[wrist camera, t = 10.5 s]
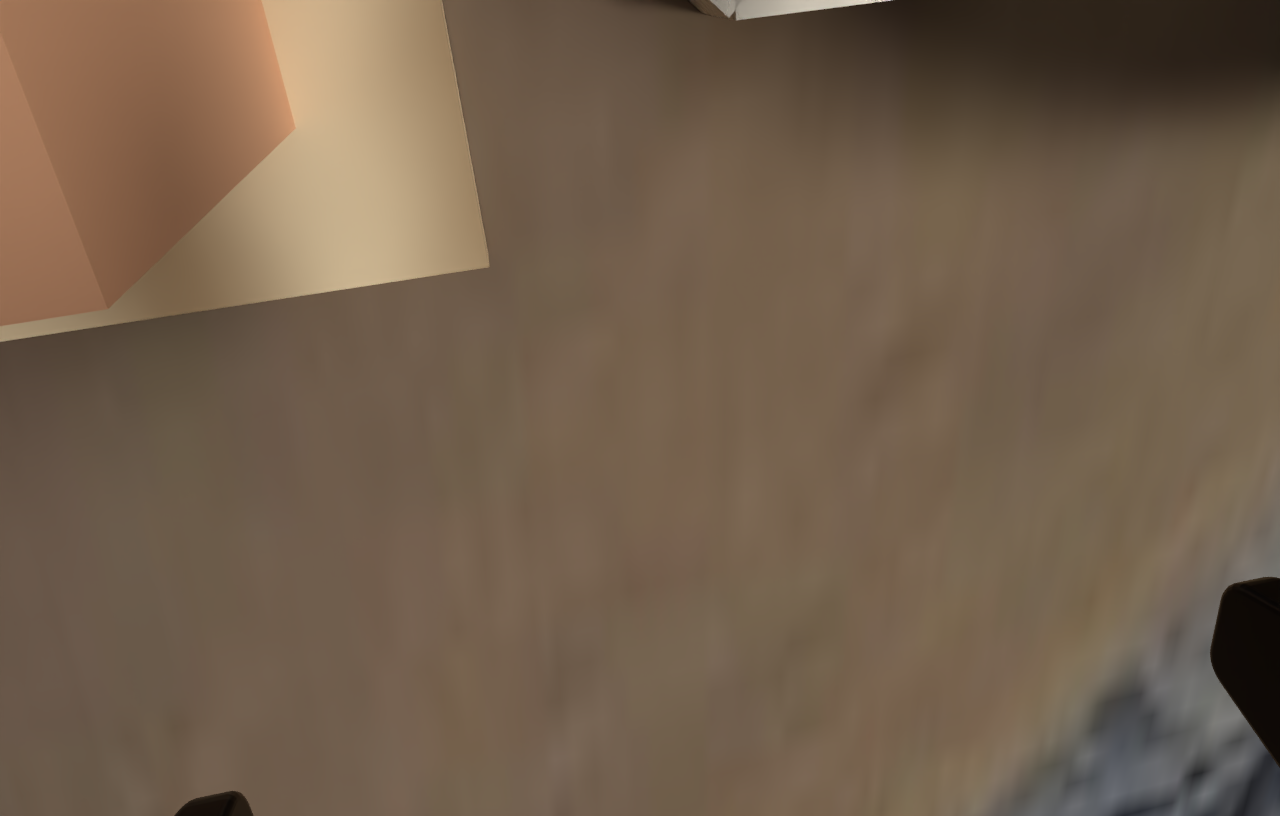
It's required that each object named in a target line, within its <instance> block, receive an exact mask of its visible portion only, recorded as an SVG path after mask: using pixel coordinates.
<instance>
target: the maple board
mask: <svg viewBox="0 0 1280 816" xmlns="http://www.w3.org/2000/svg"><path fill="white" fill-rule="evenodd" d="M261 1H262V4H263V8H264V12H265V15H266V19H267V23H268V27H269V30H270V34H271V38H272V41H273V45H274V49H275V53H276V56H277V60H278V64H279V68H280V71H281V75H282V79H283V82H284V86H285V90H286V94H287V97H288V101H289V105H290V109H291V112H292V116H293V120H294V123H295V127H296V129H295V130H294V131H293V132H291V133H290V134H289V135H288V136H287V137H286V138H285V139H284V140H283V141H282V142H281V143H280V144H279V145H278V146H277V147H276V148H275V149H274V150H273V151H272V152H271V153H270V154H269V155H268V156H267V157H266V158H264V159H263V160H262V161H261V162H260V163H259V164H258V165H257V166H256V167H255V168H254V169H253V170H252V171H251V172H250V173H249V174H248V175H247V176H246V177H245V178H244V179H243V180H242V181H241V182H240V183H239V184H237V185H236V186H235V187H234V188H233V189H232V190H231V191H230V192H229V193H228V194H227V195H226V196H225V197H224V198H223V199H222V200H221V201H220V202H219V203H218V204H217V205H216V206H215V207H214V208H213V209H212V210H211V211H209V212H208V213H207V214H206V215H205V216H204V217H203V218H202V219H201V220H200V221H199V222H198V223H197V224H196V225H195V226H194V227H193V228H192V229H191V230H190V231H189V232H188V233H187V234H186V235H185V236H184V237H182V238H181V239H180V240H179V241H178V242H177V243H176V244H175V245H174V246H173V247H172V248H171V249H170V250H169V251H168V252H167V253H166V254H165V255H164V256H163V257H162V258H161V259H160V260H159V261H158V262H157V263H155V264H154V265H153V266H152V267H151V268H150V269H149V270H148V271H147V272H146V273H145V274H144V275H143V276H142V277H141V278H140V279H139V280H138V281H137V282H136V283H135V284H134V285H133V286H132V287H131V288H130V289H128V290H127V291H126V292H125V293H124V294H123V295H122V296H121V297H120V298H119V299H118V300H117V301H116V302H115V303H114V304H113V305H112V306H111V307H110V308H109V309H106V310H100V311H93V312H87V313H81V314H75V315H68V316H62V317H56V318H49V319H43V320H37V321H30V322H24V323H18V324H11V325H5V326H0V342H2V341H9V340H15V339H22V338H28V337H35V336H41V335H48V334H54V333H61V332H67V331H74V330H81V329H87V328H94V327H100V326H107V325H113V324H120V323H126V322H133V321H139V320H146V319H152V318H159V317H166V316H172V315H179V314H185V313H192V312H198V311H205V310H211V309H218V308H224V307H231V306H238V305H244V304H251V303H257V302H264V301H270V300H277V299H283V298H290V297H296V296H303V295H309V294H316V293H323V292H329V291H336V290H342V289H349V288H355V287H362V286H368V285H375V284H381V283H388V282H395V281H401V280H408V279H414V278H421V277H427V276H434V275H440V274H447V273H453V272H460V271H466V270H473V269H480V268H486V267H489V258H488V250H487V245H486V239H485V234H484V228H483V223H482V217H481V212H480V206H479V201H478V195H477V190H476V185H475V179H474V174H473V168H472V163H471V157H470V152H469V146H468V141H467V135H466V130H465V124H464V119H463V113H462V108H461V102H460V97H459V92H458V86H457V81H456V75H455V70H454V64H453V59H452V53H451V48H450V42H449V37H448V31H447V26H446V20H445V15H444V9H443V4H442V0H261Z"/></svg>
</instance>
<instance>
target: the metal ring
mask: <svg viewBox="0 0 1280 816" xmlns="http://www.w3.org/2000/svg"><path fill="white" fill-rule="evenodd" d="M689 1H690V2H691V3H692V4H693V5H694V6H695V7H696V8H697V9H698V10H700V11H701V12H702V13H704V14H709V15H710V16H715V17H721V18H726V19H732V20H742V19H750V18H758V17H766V16H773V15H781V14H789V13H797V12H805V11H813V10H820V9H828V8H836V7H844V6H852V5H860V4H868V3H875V2H883V1H891V0H689Z"/></svg>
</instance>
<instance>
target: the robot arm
mask: <svg viewBox="0 0 1280 816" xmlns="http://www.w3.org/2000/svg"><path fill="white" fill-rule="evenodd" d="M1210 657H1211V663H1212V666H1213V669H1214V671H1215V674H1216V676H1217V678H1218V679H1219V681H1220V682H1221V684H1222V685H1223V687H1224V688H1225V690H1226V691H1227V693H1228V694H1229V695H1230V697H1231V698H1232V700H1233V701H1234V703H1235V704H1236V706H1237V707H1238V708H1239V710H1240V711H1241V713H1242V714H1243V716H1244V717H1245V718H1246V720H1247V721H1248V723H1249V724H1250V726H1251V727H1252V729H1253V730H1254V731H1255V733H1256V734H1257V736H1258V737H1259V739H1260V740H1261V742H1262V743H1263V744H1264V746H1265V747H1266V749H1267V750H1268V752H1269V753H1270V754H1271V756H1272V757H1273V759H1274V760H1275V762H1276V763H1277V765H1278V766H1279V767H1280V578H1276V577H1263V578H1258V579H1253V580H1248V581H1243V582H1238V583H1234V584H1232V585H1230V586H1228V588H1227V589H1226V590H1225V591H1224V593H1223V595H1222V597H1221V602H1220V606H1219V611H1218V616H1217V620H1216V625H1215V630H1214V634H1213V639H1212V644H1211V649H1210ZM175 816H253V813H252V811H251V808H250V806H249V803H248V801H247V800H246V798H245V797H244V796H243V795H242V794H241V793H240V792H236V791H229V792H224V793H220V794H215V795H210V796H205V797H200V798H196V799H193V800H191V801H189V802H188V803H186V804H185V805H184V806H183V807H182V808H181V809H180V810H179V811H178V812H177V813H176V814H175Z"/></svg>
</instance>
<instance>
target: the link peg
mask: <svg viewBox="0 0 1280 816" xmlns="http://www.w3.org/2000/svg"><path fill="white" fill-rule="evenodd" d="M295 129H296V127H295V123H294V120H293V116H292V112H291V109H290V105H289V101H288V97H287V94H286V90H285V86H284V82H283V79H282V75H281V71H280V68H279V64H278V60H277V56H276V53H275V49H274V45H273V41H272V38H271V34H270V30H269V27H268V23H267V19H266V15H265V12H264V8H263V4H262V1H261V0H0V326H5V325H11V324H18V323H24V322H30V321H37V320H43V319H49V318H56V317H62V316H68V315H75V314H81V313H87V312H93V311H100V310H106V309H109V308H110V307H111V306H112V305H113V304H114V303H115V302H116V301H117V300H118V299H119V298H120V297H121V296H122V295H123V294H124V293H125V292H126V291H127V290H128V289H130V288H131V287H132V286H133V285H134V284H135V283H136V282H137V281H138V280H139V279H140V278H141V277H142V276H143V275H144V274H145V273H146V272H147V271H148V270H149V269H150V268H151V267H152V266H153V265H154V264H155V263H157V262H158V261H159V260H160V259H161V258H162V257H163V256H164V255H165V254H166V253H167V252H168V251H169V250H170V249H171V248H172V247H173V246H174V245H175V244H176V243H177V242H178V241H179V240H180V239H181V238H182V237H184V236H185V235H186V234H187V233H188V232H189V231H190V230H191V229H192V228H193V227H194V226H195V225H196V224H197V223H198V222H199V221H200V220H201V219H202V218H203V217H204V216H205V215H206V214H207V213H208V212H209V211H211V210H212V209H213V208H214V207H215V206H216V205H217V204H218V203H219V202H220V201H221V200H222V199H223V198H224V197H225V196H226V195H227V194H228V193H229V192H230V191H231V190H232V189H233V188H234V187H235V186H236V185H237V184H239V183H240V182H241V181H242V180H243V179H244V178H245V177H246V176H247V175H248V174H249V173H250V172H251V171H252V170H253V169H254V168H255V167H256V166H257V165H258V164H259V163H260V162H261V161H262V160H263V159H264V158H266V157H267V156H268V155H269V154H270V153H271V152H272V151H273V150H274V149H275V148H276V147H277V146H278V145H279V144H280V143H281V142H282V141H283V140H284V139H285V138H286V137H287V136H288V135H289V134H290V133H291V132H293V131H294V130H295Z"/></svg>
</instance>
